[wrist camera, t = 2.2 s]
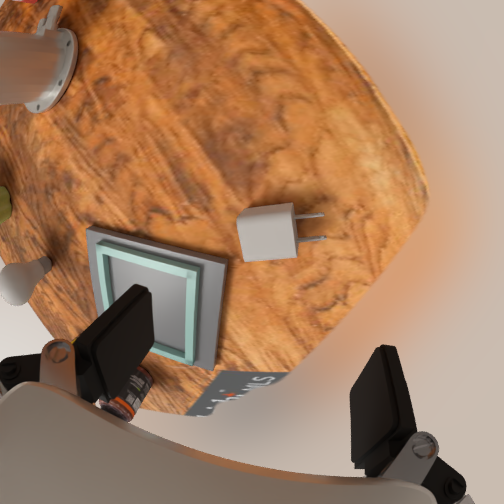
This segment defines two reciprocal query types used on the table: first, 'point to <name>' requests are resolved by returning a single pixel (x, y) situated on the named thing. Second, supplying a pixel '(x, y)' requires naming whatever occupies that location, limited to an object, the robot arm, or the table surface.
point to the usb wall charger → (271, 232)
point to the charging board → (163, 291)
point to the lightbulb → (22, 279)
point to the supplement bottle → (129, 396)
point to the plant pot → (4, 205)
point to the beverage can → (27, 1)
